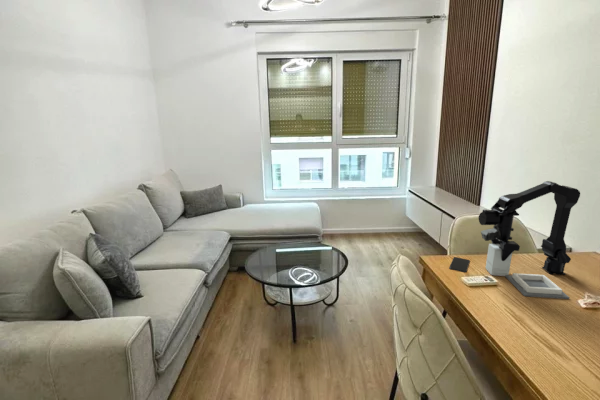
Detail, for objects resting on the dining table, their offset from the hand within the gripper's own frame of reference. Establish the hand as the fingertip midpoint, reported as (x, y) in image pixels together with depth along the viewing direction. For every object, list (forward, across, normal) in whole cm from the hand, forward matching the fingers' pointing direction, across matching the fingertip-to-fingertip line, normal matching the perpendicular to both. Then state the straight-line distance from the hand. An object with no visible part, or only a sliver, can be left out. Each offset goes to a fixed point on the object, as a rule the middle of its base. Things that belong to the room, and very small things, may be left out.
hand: (499, 257), depth 143 cm
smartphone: (+8, -6, -14) cm, 17 cm away
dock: (+8, +12, +10) cm, 17 cm away
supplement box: (+8, 0, 0) cm, 8 cm away
